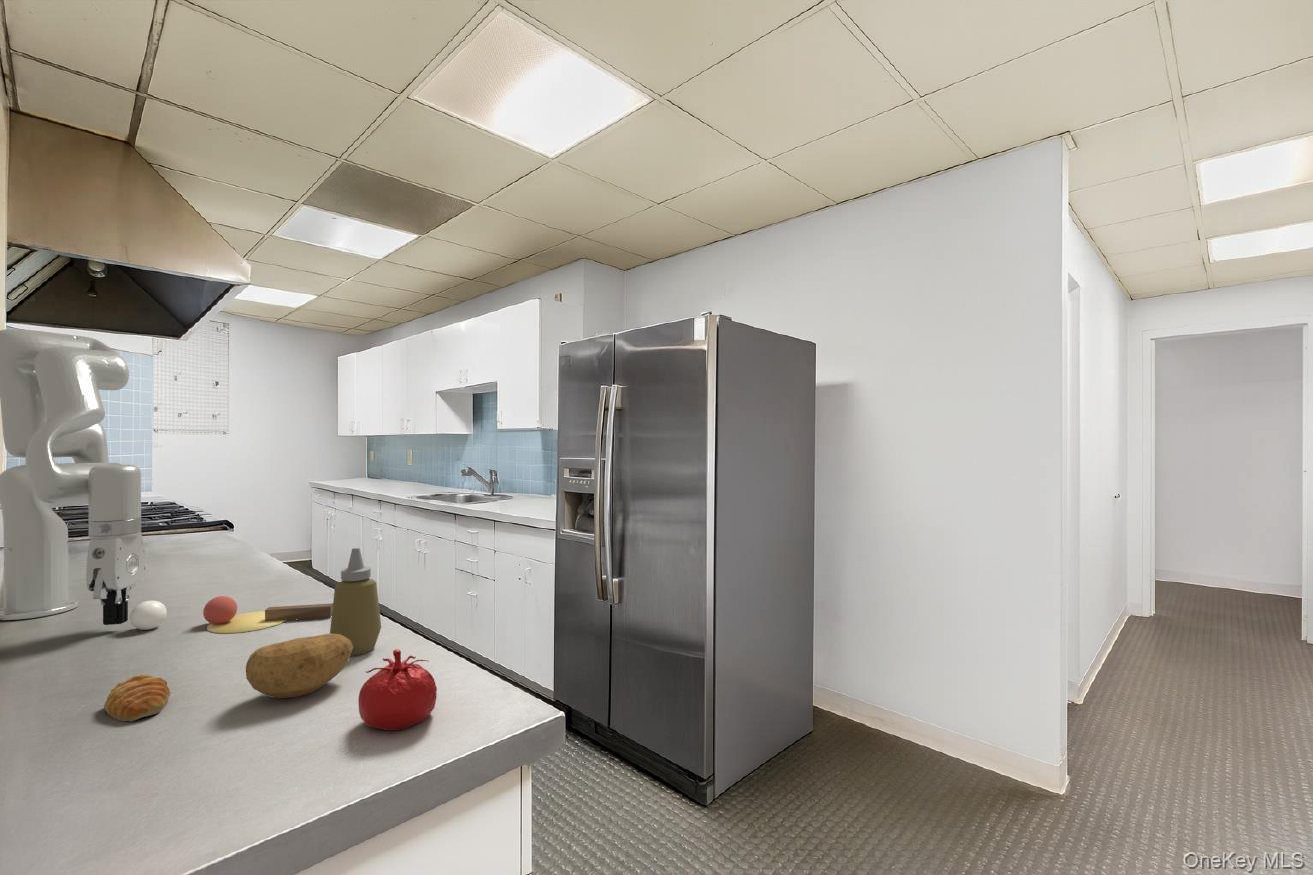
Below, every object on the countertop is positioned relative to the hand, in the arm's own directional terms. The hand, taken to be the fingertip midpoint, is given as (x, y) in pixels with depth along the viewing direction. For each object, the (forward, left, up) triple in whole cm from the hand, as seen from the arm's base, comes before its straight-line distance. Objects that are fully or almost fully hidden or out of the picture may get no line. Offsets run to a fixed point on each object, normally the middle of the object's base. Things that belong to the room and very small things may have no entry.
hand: (115, 622), depth 115 cm
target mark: (+16, +16, -2) cm, 23 cm away
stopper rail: (+23, +23, -2) cm, 32 cm away
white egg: (+4, +4, +1) cm, 6 cm away
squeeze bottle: (+50, +18, -2) cm, 53 cm away
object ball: (+12, +13, +1) cm, 18 cm away
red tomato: (+79, +6, -2) cm, 79 cm away
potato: (+59, +4, -2) cm, 59 cm away
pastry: (+45, -10, -2) cm, 46 cm away
